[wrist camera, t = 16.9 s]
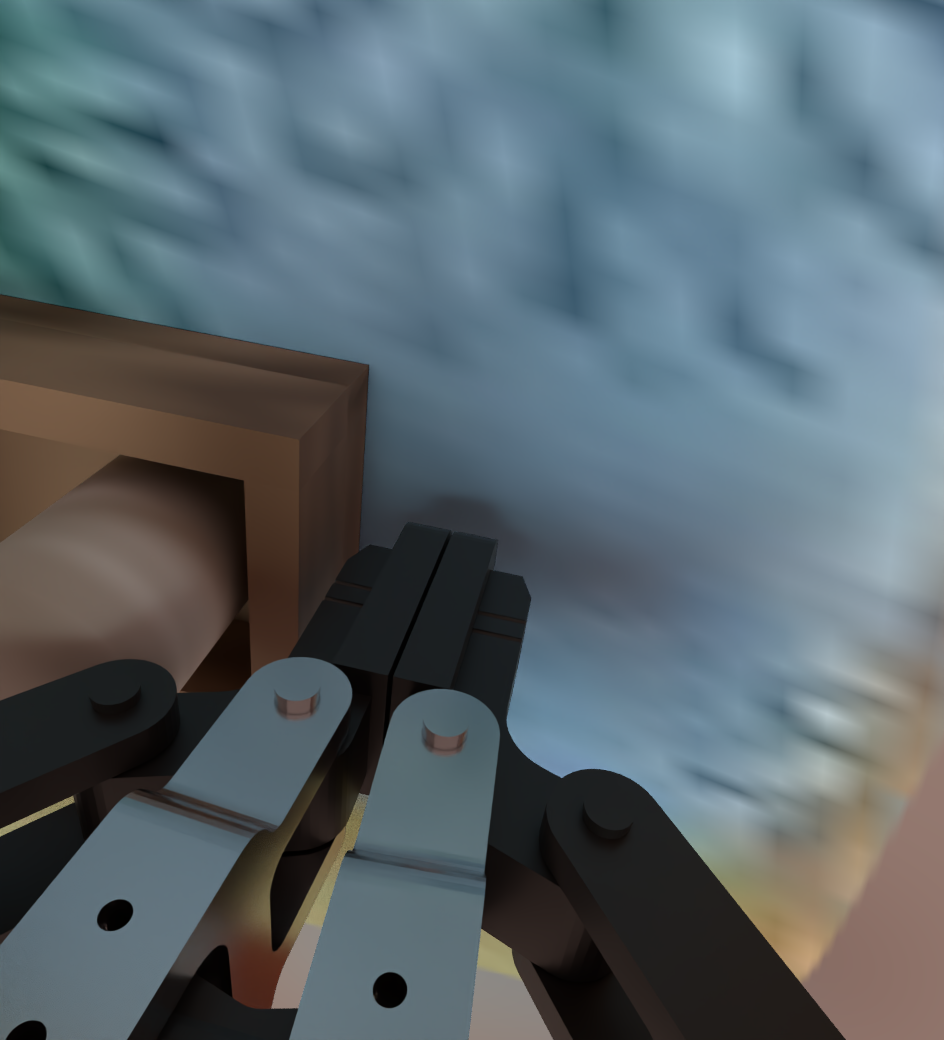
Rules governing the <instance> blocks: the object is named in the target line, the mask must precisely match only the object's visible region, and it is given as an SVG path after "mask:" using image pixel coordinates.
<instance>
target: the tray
mask: <svg viewBox="0 0 944 1040" xmlns="http://www.w3.org/2000/svg"><path fill="white" fill-rule="evenodd" d="M368 373H369V365H365V364H360V363H355V362H349V361H344V360H339V359H334V358H328V357H323V356H318V355H313V354H308V353H302V352H297V351H292V350H287V349H281V348H276V347H271V346H266V345H260V344H255V343H250V342H245V341H239V340H234V339H229V338H224V337H219V336H213V335H208V334H203V333H198V332H192V331H187V330H182V329H177V328H171V327H166V326H161V325H156V324H150V323H145V322H140V321H135V320H130V319H124V318H119V317H114V316H109V315H103V314H98V313H93V312H88V311H82V310H77V309H72V308H67V307H61V306H56V305H51V304H46V303H41V302H35V301H30V300H25V299H20V298H14V297H9V296H4V295H0V700H3V699H5V698H8V697H11V696H14V695H16V694H19V693H22V692H25V691H27V690H30V689H33V688H35V687H38V686H41V685H44V684H46V683H49V682H52V681H54V680H57V679H60V678H63V677H65V676H68V675H71V674H74V673H76V672H79V671H82V670H84V669H87V668H90V667H93V666H95V665H98V664H102V663H105V662H109V661H114V660H122V659H139V660H146V661H149V662H153V663H156V664H158V665H160V666H162V667H163V668H165V669H166V670H167V671H168V672H169V673H170V674H171V675H172V676H173V678H174V680H175V683H176V687H177V693H188V692H222V691H232V690H237V689H241V688H242V687H243V686H244V684H245V683H246V682H247V680H248V679H249V678H250V677H251V676H252V675H253V674H254V673H255V672H256V671H258V670H259V669H260V668H262V667H264V666H266V665H267V664H270V663H272V662H275V661H278V660H282V659H286V658H288V656H289V655H290V653H291V651H292V650H293V648H294V647H295V645H296V643H297V642H298V640H299V638H300V637H301V635H302V633H303V632H304V630H305V628H306V627H307V625H308V623H309V622H310V620H311V619H312V617H313V615H314V614H315V612H316V610H317V609H318V607H319V605H320V604H321V602H322V600H325V595H326V594H327V592H328V590H329V589H330V587H331V586H332V584H333V583H335V579H336V577H337V576H338V574H339V572H340V571H341V569H342V567H343V566H344V564H345V562H346V561H347V559H349V558H350V557H352V556H353V555H355V554H357V553H358V552H359V539H360V521H361V502H362V484H363V465H364V447H365V429H366V410H367V392H368Z"/></svg>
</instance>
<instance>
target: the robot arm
mask: <svg viewBox="0 0 944 1040" xmlns="http://www.w3.org/2000/svg"><path fill="white" fill-rule="evenodd" d="M497 544H498V540H495V539H490V538H485V537H480V536H475V535H471V534H466V533H461V532H456V531H454V532H453V534H452V532H451V531H450V530H445V529H441V528H436V527H431V526H426V525H421V524H416V523H411V522H407V523H406V525H405V526H404V528H403V530H402V532H401V534H400V536H399V538H398V540H397V542H396V544H395V545H394V547H393V549H388V548H383V547H379V546H374V545H369V546H367V547H366V548H364V549H363V550H361V551H360V552H358V553H357V554H355V555H353V556H352V557H350V558H349V559H347V561H346V562H345V564H344V566H343V567H342V569H341V571H340V572H339V574H338V576H337V577H336V579H335V583H333V584H332V586H331V587H330V589H329V590H328V592H327V594H326V595H325V600H322V602H321V604H320V605H319V607H318V609H317V610H316V612H315V614H314V615H313V617H312V619H311V620H310V622H309V623H308V625H307V627H306V628H305V630H304V632H303V633H302V635H301V637H300V638H299V640H298V642H297V643H296V645H295V647H294V648H293V650H292V651H291V653H290V655H289V656H288V658H286V659H282V660H278V661H275V662H272V663H270V664H267V665H266V666H264V667H262V668H260V669H259V670H258V671H256V672H255V673H254V674H253V675H252V676H251V677H250V678H249V679H248V680H247V682H246V683H245V684H244V686H243V687H242V688H241V689H237V690H232V691H222V692H188V693H177V687H176V683H175V680H174V678H173V676H172V675H171V674H170V673H169V672H168V671H167V670H166V669H165V668H163V667H162V666H160V665H158V664H156V663H153V662H149V661H146V660H139V659H122V660H114V661H109V662H105V663H102V664H98V665H95V666H93V667H90V668H87V669H84V670H82V671H79V672H76V673H74V674H71V675H68V676H65V677H63V678H60V679H57V680H54V681H52V682H49V683H46V684H44V685H41V686H38V687H35V688H33V689H30V690H27V691H25V692H22V693H19V694H16V695H14V696H11V697H8V698H5V699H3V700H0V829H1V828H3V827H5V826H7V825H9V824H12V823H14V822H16V821H18V820H20V819H23V818H25V817H27V816H29V815H31V814H34V813H36V812H38V811H40V810H42V809H45V808H47V807H49V806H51V805H53V804H55V803H58V802H60V801H62V800H64V799H66V798H69V797H71V796H73V797H74V801H75V802H74V803H72V804H70V805H68V806H65V807H63V808H61V809H59V810H57V811H55V812H53V813H50V814H48V815H46V816H44V817H42V818H40V819H37V820H35V821H33V822H31V823H29V824H27V825H24V826H22V827H20V828H18V829H16V830H14V831H11V832H9V833H7V834H5V835H3V836H1V837H0V1040H468V1039H469V1029H470V1021H471V1012H472V1003H473V995H474V986H475V977H476V968H477V959H478V951H479V942H480V933H481V929H483V930H484V931H486V932H487V933H489V934H490V935H492V936H493V937H495V938H496V939H498V940H499V941H501V942H502V943H504V944H505V945H507V946H508V947H510V948H512V955H513V959H514V963H515V966H516V968H517V970H518V973H519V975H520V977H521V979H522V980H523V982H524V984H525V986H526V988H527V990H528V992H529V994H530V996H531V998H532V1000H533V1002H534V1003H535V1005H536V1007H537V1009H538V1011H539V1013H540V1015H541V1017H542V1019H543V1021H544V1023H545V1025H546V1026H547V1028H548V1030H549V1032H550V1034H551V1036H552V1037H553V1039H554V1040H846V1039H845V1038H844V1037H843V1036H842V1034H841V1033H840V1032H839V1031H838V1029H837V1028H836V1027H835V1026H834V1024H833V1023H832V1022H831V1021H830V1019H829V1018H828V1017H827V1016H826V1014H825V1013H824V1012H823V1011H822V1010H821V1008H820V1007H819V1006H818V1004H817V1003H816V1002H815V1001H814V999H813V998H812V997H811V996H810V994H809V993H808V992H807V990H806V989H805V988H804V987H803V985H802V984H801V983H800V982H799V980H798V979H797V978H796V977H795V975H794V974H793V973H792V972H791V970H790V969H789V968H788V967H787V965H786V964H785V963H784V962H783V960H782V959H781V958H780V957H779V955H778V954H777V953H776V952H775V950H774V949H773V948H772V947H771V945H770V944H769V943H768V942H767V940H766V939H765V938H764V937H763V935H762V934H761V933H760V931H759V930H758V929H757V928H756V926H755V925H754V924H753V923H752V921H751V920H750V919H749V918H748V916H747V915H746V914H745V913H744V911H743V910H742V909H741V908H740V906H739V905H738V904H737V903H736V901H735V900H734V899H733V898H732V896H731V895H730V894H729V893H728V891H727V890H726V889H725V888H724V886H723V885H722V884H721V883H720V881H719V880H718V879H717V878H716V876H715V875H714V874H713V872H712V871H711V870H710V869H709V867H708V866H707V865H706V864H705V862H704V861H703V860H702V859H701V857H700V856H699V855H698V854H697V852H696V851H695V850H694V849H693V847H692V846H691V845H690V844H689V842H688V841H687V840H686V839H685V837H684V836H683V835H682V834H681V832H680V831H679V830H678V829H677V827H676V826H675V825H674V824H673V822H672V821H671V820H670V819H669V817H668V816H667V815H666V813H665V812H664V811H663V810H662V808H661V807H660V806H659V805H658V803H657V802H656V801H655V800H654V799H653V797H652V796H651V795H650V794H649V793H648V792H647V791H646V790H645V789H644V788H642V787H641V786H640V785H639V784H637V783H636V782H634V781H632V780H631V779H629V778H627V777H625V776H623V775H621V774H618V773H615V772H611V771H607V770H601V769H585V770H579V771H575V772H572V773H570V774H568V775H566V776H564V777H563V778H560V777H558V776H557V775H555V774H553V773H551V772H549V771H547V770H546V769H544V768H542V767H540V766H539V765H537V764H536V763H534V762H533V761H531V760H530V759H529V758H528V757H526V756H525V755H524V754H523V753H522V752H521V751H520V750H519V749H518V747H517V746H516V744H515V743H514V741H513V740H512V738H511V736H510V734H509V731H508V727H507V722H506V719H507V714H508V710H509V705H510V701H511V696H512V691H513V687H514V682H515V677H516V673H517V668H518V663H519V658H520V653H521V648H522V643H523V638H524V633H525V628H526V622H527V617H528V612H529V607H530V602H531V597H530V594H529V592H528V589H527V587H526V584H525V582H524V579H523V577H522V576H517V575H512V574H508V573H503V572H498V571H494V565H495V559H496V552H497ZM359 793H361V794H365V795H369V798H368V801H367V805H366V808H365V812H364V815H363V819H362V822H361V826H360V829H359V833H358V836H357V840H356V843H355V846H354V848H353V850H352V851H351V850H348V851H347V852H346V854H345V856H344V859H343V861H342V864H341V867H340V870H339V873H338V876H337V879H336V883H335V886H334V889H333V893H332V896H331V900H330V903H329V906H328V910H327V913H326V917H325V920H324V923H323V927H322V930H321V934H320V937H319V940H318V944H317V947H316V951H315V954H314V957H313V961H312V964H311V967H310V971H309V974H308V978H307V981H306V985H305V988H304V991H303V995H302V998H301V1001H300V1005H299V1008H298V1009H297V1008H296V1009H295V1008H293V1009H271V1007H272V1004H273V999H274V994H275V990H276V987H277V983H278V980H279V977H280V974H281V971H282V969H283V966H284V964H285V962H286V960H287V958H288V956H289V954H290V952H291V950H292V947H293V945H294V943H295V941H296V939H297V937H298V935H299V933H300V931H301V929H302V927H303V925H304V923H305V921H306V919H307V917H308V915H309V912H310V910H311V908H312V906H313V904H314V902H315V900H316V898H317V896H318V894H319V892H320V890H321V888H322V886H323V884H324V882H325V880H326V877H327V875H328V873H329V871H330V869H331V867H332V865H333V863H334V861H335V859H336V857H337V855H338V853H339V851H340V849H341V847H342V844H343V842H344V839H345V833H346V824H347V822H348V820H349V817H350V815H351V812H352V810H353V807H354V805H355V802H356V800H357V797H358V795H359Z"/></svg>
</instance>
